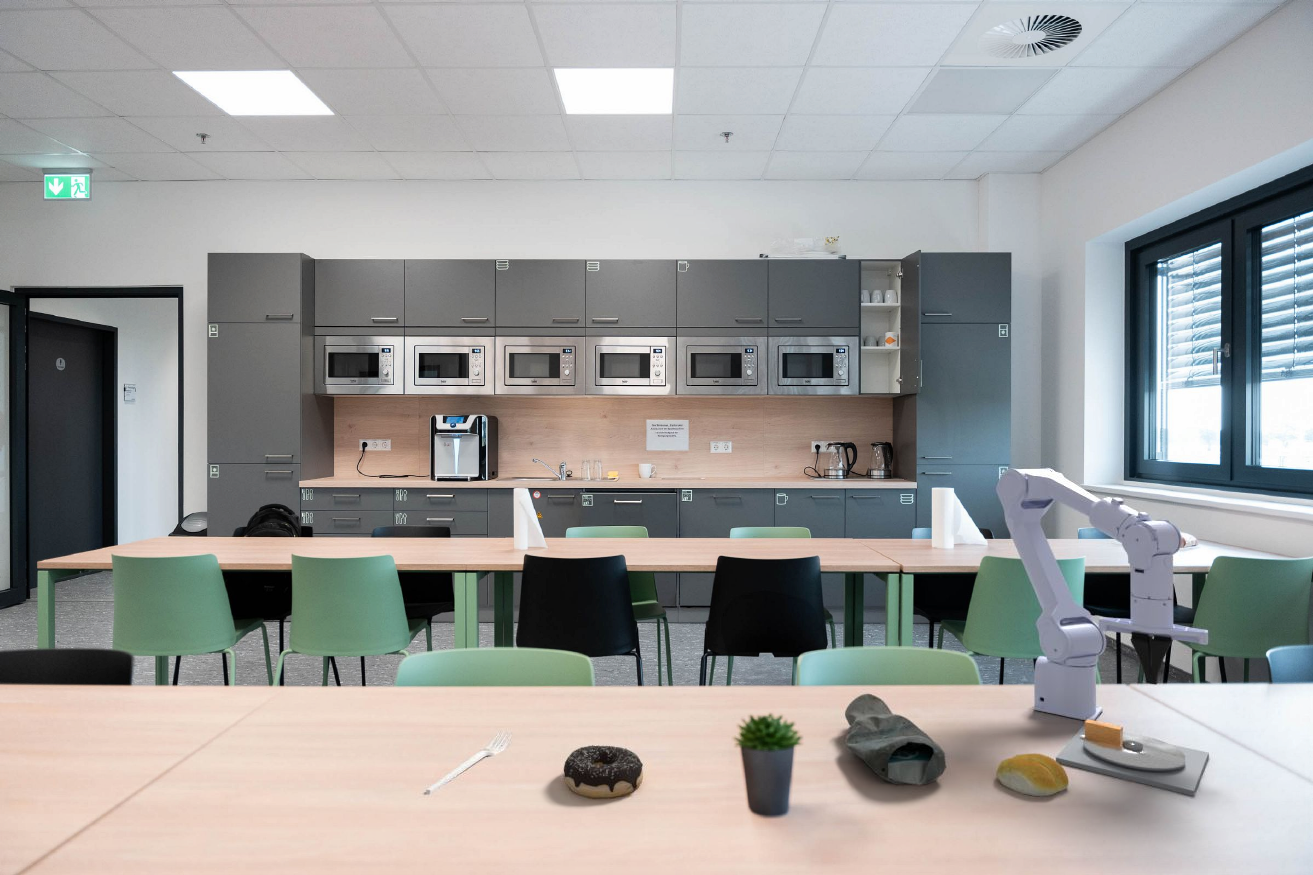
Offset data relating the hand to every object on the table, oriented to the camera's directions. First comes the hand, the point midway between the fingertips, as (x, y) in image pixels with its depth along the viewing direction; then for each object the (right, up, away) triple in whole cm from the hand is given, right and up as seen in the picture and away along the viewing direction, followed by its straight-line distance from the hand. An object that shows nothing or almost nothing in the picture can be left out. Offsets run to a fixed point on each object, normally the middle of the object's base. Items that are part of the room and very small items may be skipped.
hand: (1151, 682), depth 124 cm
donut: (-86, -10, -14) cm, 88 cm away
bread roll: (-26, -10, -15) cm, 32 cm away
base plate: (-7, -9, -7) cm, 14 cm away
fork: (-106, -10, -8) cm, 107 cm away
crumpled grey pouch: (-44, -10, -5) cm, 45 cm away
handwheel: (-7, -9, -7) cm, 14 cm away
